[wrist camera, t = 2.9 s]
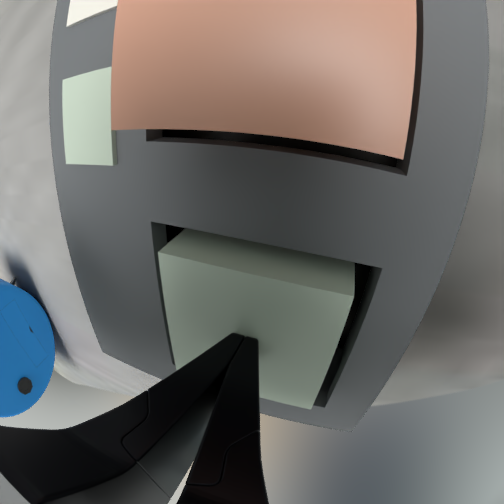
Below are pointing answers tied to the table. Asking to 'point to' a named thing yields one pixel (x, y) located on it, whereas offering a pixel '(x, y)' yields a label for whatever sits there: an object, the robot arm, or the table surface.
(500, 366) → the table surface
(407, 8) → the terracotta key
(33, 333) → the alarm clock
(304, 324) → the sage key
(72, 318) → the table surface
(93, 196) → the console
